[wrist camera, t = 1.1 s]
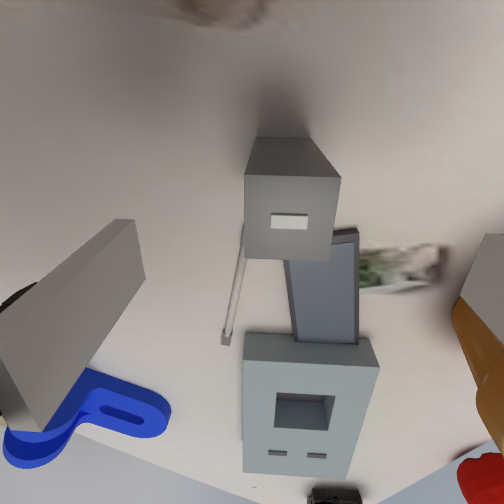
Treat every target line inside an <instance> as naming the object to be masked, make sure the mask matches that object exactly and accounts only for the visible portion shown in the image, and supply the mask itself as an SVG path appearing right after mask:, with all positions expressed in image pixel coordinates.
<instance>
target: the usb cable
mask: <svg viewBox="0 0 504 504" xmlns="http://www.w3.org/2000/svg"><path fill="white" fill-rule="evenodd" d="M240 245H241V249H240V254H239V259H238V264H237V270H236V275H235V280H234V285H233V290H232V295H231V300H230V305H229V310H228V316H227V321H226V326H225V329H224V331H223V337H222V342H221V345H227V346H230V341H231V337H232V331H233V330H232V327H233V322H234V318H235V313H236V308H237V303H238V299H239V294H240V289H241V284H242V280H243V275H244V270H245V265H246V261H247V258H244V228H243V233H242V238H241V244H240Z"/></svg>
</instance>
